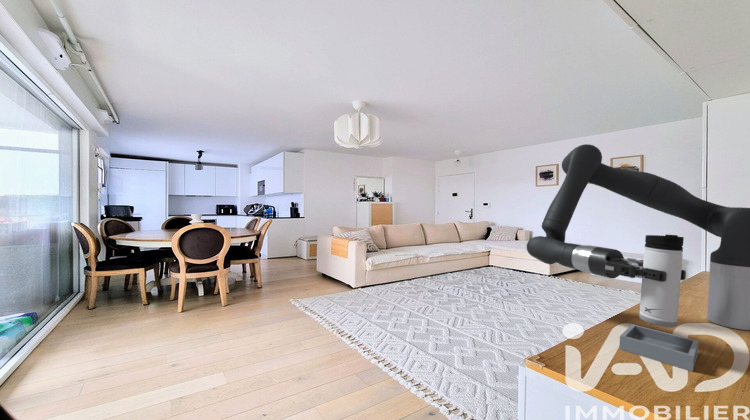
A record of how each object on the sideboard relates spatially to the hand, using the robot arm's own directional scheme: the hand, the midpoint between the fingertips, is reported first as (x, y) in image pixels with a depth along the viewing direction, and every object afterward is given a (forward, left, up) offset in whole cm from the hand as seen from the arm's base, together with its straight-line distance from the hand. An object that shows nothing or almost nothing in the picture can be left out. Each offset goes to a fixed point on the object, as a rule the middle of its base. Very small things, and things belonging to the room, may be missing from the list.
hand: (675, 276), depth 66 cm
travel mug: (+1, -2, -11) cm, 11 cm away
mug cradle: (+1, -2, -18) cm, 18 cm away
